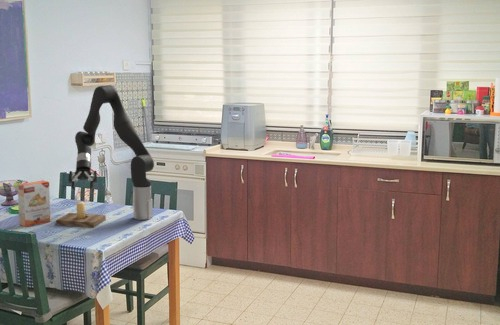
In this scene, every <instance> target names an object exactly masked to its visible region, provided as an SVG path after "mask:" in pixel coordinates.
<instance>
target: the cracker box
mask: <svg viewBox="0 0 500 325" xmlns="http://www.w3.org/2000/svg"><path fill="white" fill-rule="evenodd" d="M17 199H18V200H17V201H18V205H17V206H18V222H19V223H18V224H19V226H21V227H23V228H28V227H31V226H32V227H33V226H36V225H42V224H46V223H50V222H51V208H50V207H51V205H50V204H51V201H50V200H51V196H50V182H49V181H47V180H44V179H43V180H42V179H41V180H35V181H30V182H23V183H19V184H17Z"/></svg>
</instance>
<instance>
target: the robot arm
mask: <svg viewBox="0 0 500 325" xmlns="http://www.w3.org/2000/svg"><path fill="white" fill-rule="evenodd" d="M103 104H109V105H110V107H111V108H112V111H113V128H114V130H115V131H116V134H117V136H118V137H119V139H120V140H121V141H122V142H123V143H124V144H125V145H127V146H128V147H129V148H130V149H131V150H132V151H133V153H134V157H132V158H131V161H130V178H131V181H132V196H133V197H132V199H133V200H132V201H133V203H132V204H133V206H132V207H133V209H132V210H133V213H132V214H133V219H134V220H138V221H140V220H141V221H144V220H150V219H151V218H152V217H153V210H154V209H153V208H154V207H153V204H154V202H153V198H152V180H151V179H149V178H147V172H151V171H153V170H154V168H155V162H154V159H153V157H152V155H151V154H150V152H149V151H148V149H147V148H146V147H145V145H144V143H143V142H142V140H141V137H140V136H139V134H138V132H137V130H136V129H135V125H134V124H133V123H132V121H131V119H130V117H129V115H128V113H127V112H126V109H125V107H124V105H123V103H122V100H121V98H120V95H119V93H118V90H117V88H115V86H114V85H111V84H107V85H100V86H97V87H95V89H94V90H93V94H92V98H91V103H90V106H89V111H88V115H87V118H86V120H85V121H84V125H83V127H82V128H83V131H77V133H75V137H74V139H75V140H74V141H75V144H76V145H75V146H76V148H77V157H76V164H75V171H71V170H69V174H68V183H69V184H71V188H72V190H75V189H76V183H77V182H78V181H86V180H88V182H89V189H90V190H92V189H93V188H94V183H98V177H97V176H98V175H97V170H93V171H92V148H91V147H92V146H93V145H94V144H95V141H96V132H97V130H98V127H99V125H100V123H101V114H100V110H101V108H102V106H103ZM74 175H75V176H74ZM91 176H93V178H92V177H91ZM73 177H74V178H73Z"/></svg>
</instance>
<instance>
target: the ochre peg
mask: <svg viewBox="0 0 500 325" xmlns="http://www.w3.org/2000/svg"><path fill="white" fill-rule="evenodd" d="M76 213H77V219H85V214H86V203H85V202H83V201H80V202H79V201H78V202H76Z"/></svg>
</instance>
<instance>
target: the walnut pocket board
mask: <svg viewBox="0 0 500 325" xmlns="http://www.w3.org/2000/svg"><path fill="white" fill-rule="evenodd" d="M106 220H107V219H106V215H105V214H93V213H91V214H90V213H85V219H77V212H75V213H74V212H68V213H66V214H64V215H63V216H61V217H59V218H57V219H55V225H56V226H68V227H69V226H70V227H81V228H96V227H97V226H99V225H100V224H102V223H103V222H105V221H106Z"/></svg>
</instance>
